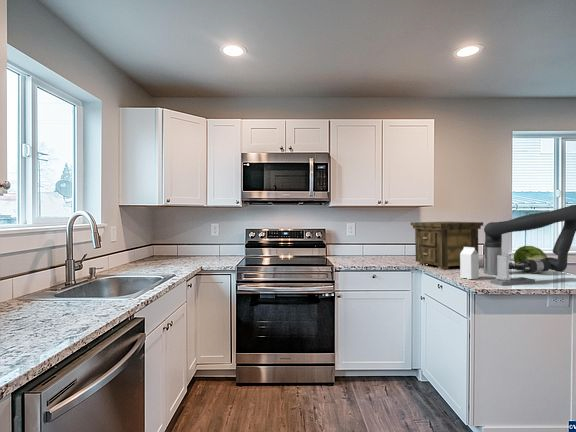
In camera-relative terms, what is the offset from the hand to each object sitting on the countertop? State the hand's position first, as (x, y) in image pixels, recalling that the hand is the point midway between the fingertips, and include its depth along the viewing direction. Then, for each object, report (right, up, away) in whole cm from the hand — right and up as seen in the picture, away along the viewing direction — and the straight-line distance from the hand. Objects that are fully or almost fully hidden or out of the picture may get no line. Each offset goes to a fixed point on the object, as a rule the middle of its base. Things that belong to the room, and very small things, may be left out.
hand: (506, 267), depth 190 cm
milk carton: (-12, -9, +15) cm, 22 cm away
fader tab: (-2, -7, -1) cm, 7 cm away
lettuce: (+38, -8, +32) cm, 50 cm away
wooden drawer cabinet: (-4, -9, +65) cm, 65 cm away
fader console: (+4, -9, +1) cm, 10 cm away
